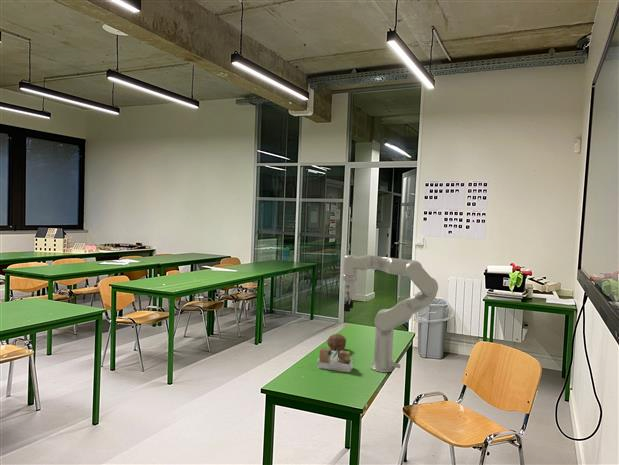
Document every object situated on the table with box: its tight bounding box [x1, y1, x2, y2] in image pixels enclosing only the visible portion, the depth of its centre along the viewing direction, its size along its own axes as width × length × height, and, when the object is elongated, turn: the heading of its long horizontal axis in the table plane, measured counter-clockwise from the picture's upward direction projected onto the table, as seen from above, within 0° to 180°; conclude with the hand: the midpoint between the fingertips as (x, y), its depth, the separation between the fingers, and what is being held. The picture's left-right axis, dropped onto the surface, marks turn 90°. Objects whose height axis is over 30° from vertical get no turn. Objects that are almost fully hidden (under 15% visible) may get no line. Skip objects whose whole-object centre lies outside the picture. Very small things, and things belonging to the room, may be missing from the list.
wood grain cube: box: [338, 350, 351, 364], centre depth 229 cm, size 5×5×6 cm
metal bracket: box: [316, 349, 339, 362], centre depth 243 cm, size 14×6×15 cm
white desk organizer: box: [317, 347, 354, 373], centre depth 231 cm, size 17×8×9 cm, turn 73°
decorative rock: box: [326, 333, 347, 351], centre depth 262 cm, size 13×11×10 cm
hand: (348, 309), depth 237 cm, fingers open, 9 cm apart
